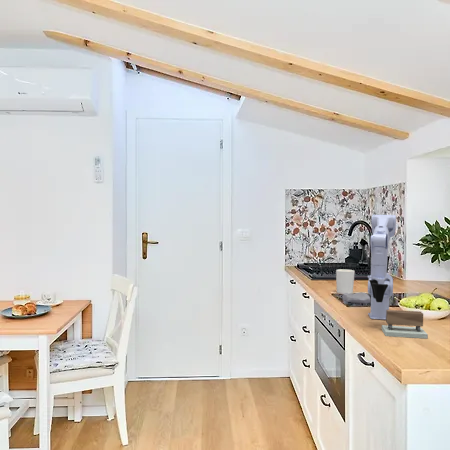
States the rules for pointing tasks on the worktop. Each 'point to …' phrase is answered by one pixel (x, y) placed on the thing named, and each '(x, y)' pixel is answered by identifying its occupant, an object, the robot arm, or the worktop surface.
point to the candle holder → (345, 281)
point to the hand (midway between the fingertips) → (377, 300)
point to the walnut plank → (404, 318)
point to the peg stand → (404, 331)
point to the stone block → (356, 297)
